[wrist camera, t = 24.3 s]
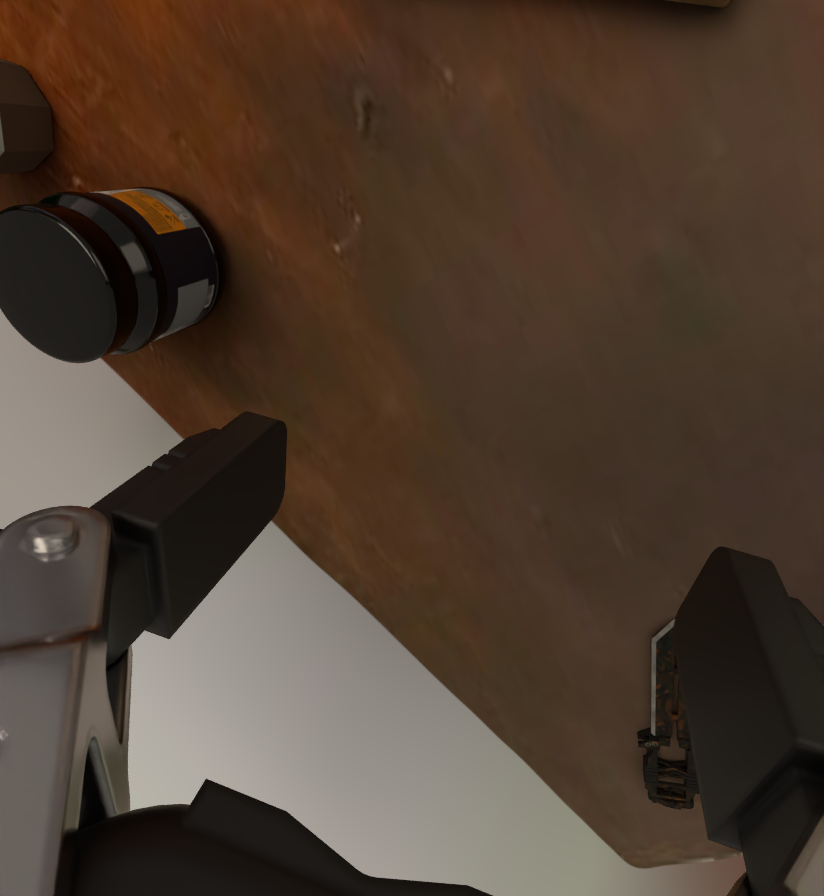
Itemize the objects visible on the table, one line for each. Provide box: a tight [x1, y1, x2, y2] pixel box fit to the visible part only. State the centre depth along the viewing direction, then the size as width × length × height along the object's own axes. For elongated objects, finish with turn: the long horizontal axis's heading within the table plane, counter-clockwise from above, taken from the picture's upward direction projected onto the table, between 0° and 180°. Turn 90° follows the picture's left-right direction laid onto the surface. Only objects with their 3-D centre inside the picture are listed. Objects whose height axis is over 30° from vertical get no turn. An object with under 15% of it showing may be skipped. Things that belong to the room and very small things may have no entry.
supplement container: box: [0, 187, 225, 363], centre depth 38 cm, size 10×10×12 cm
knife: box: [637, 619, 700, 810], centre depth 51 cm, size 25×6×1 cm, turn 6°
